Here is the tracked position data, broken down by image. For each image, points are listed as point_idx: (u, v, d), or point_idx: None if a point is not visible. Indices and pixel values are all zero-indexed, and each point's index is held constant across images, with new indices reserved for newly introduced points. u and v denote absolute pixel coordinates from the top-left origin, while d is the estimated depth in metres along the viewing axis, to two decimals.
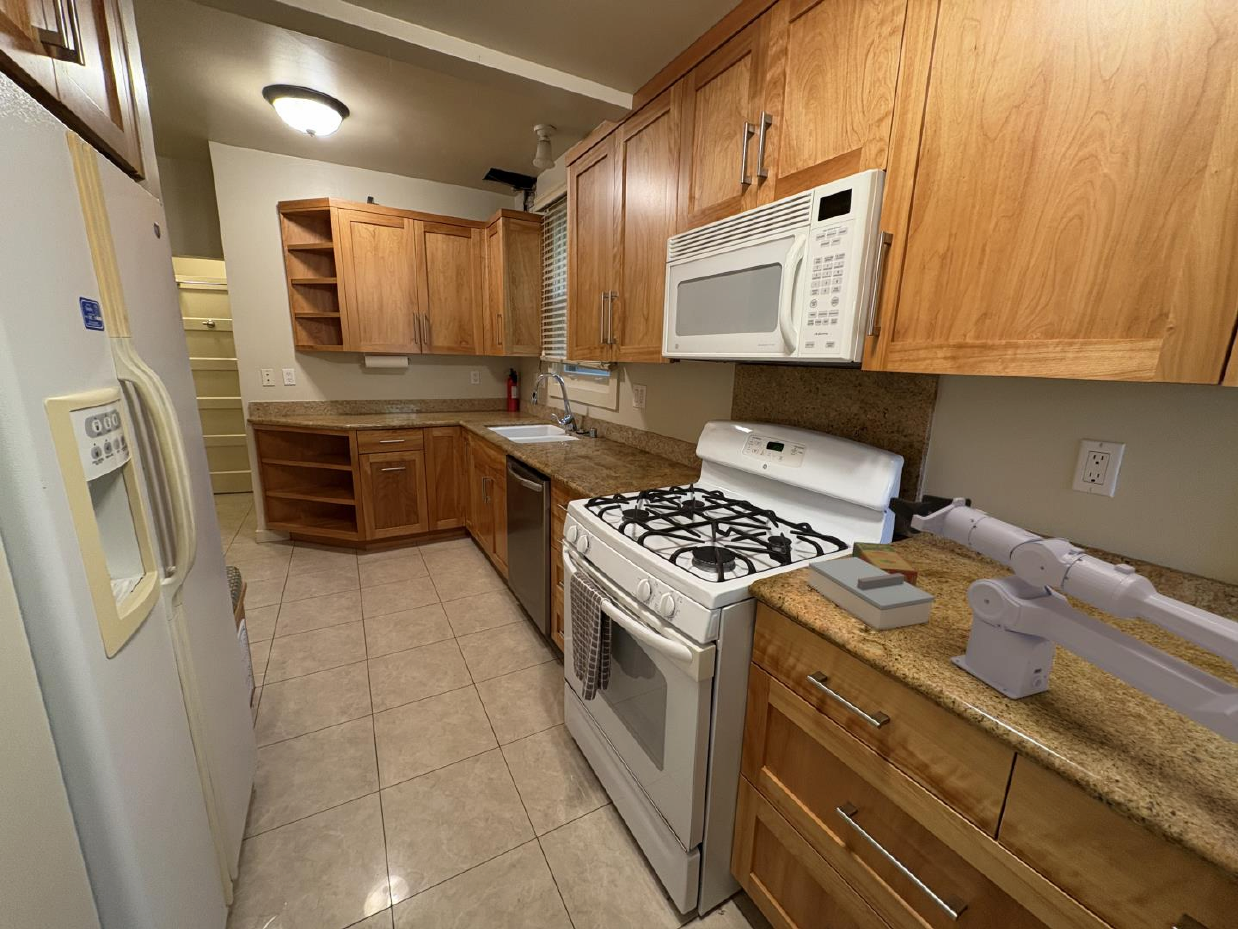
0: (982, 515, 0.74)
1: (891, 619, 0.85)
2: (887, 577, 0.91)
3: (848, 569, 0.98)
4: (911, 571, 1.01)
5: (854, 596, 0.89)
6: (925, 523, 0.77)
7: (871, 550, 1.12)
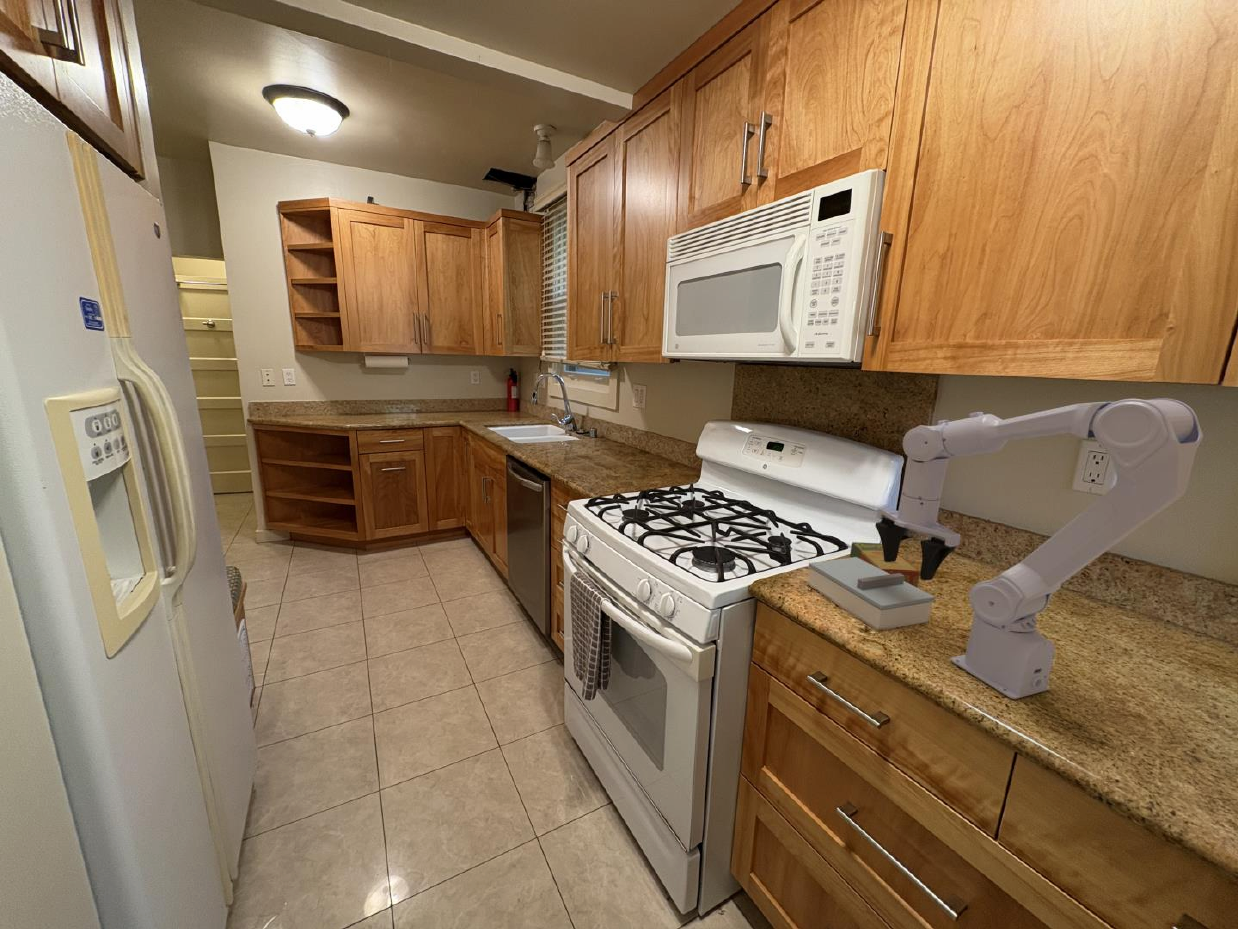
0: (909, 500, 0.81)
1: (891, 619, 0.85)
2: (887, 577, 0.91)
3: (848, 569, 0.98)
4: (913, 571, 1.01)
5: (854, 596, 0.89)
6: (950, 534, 0.77)
7: (871, 550, 1.11)
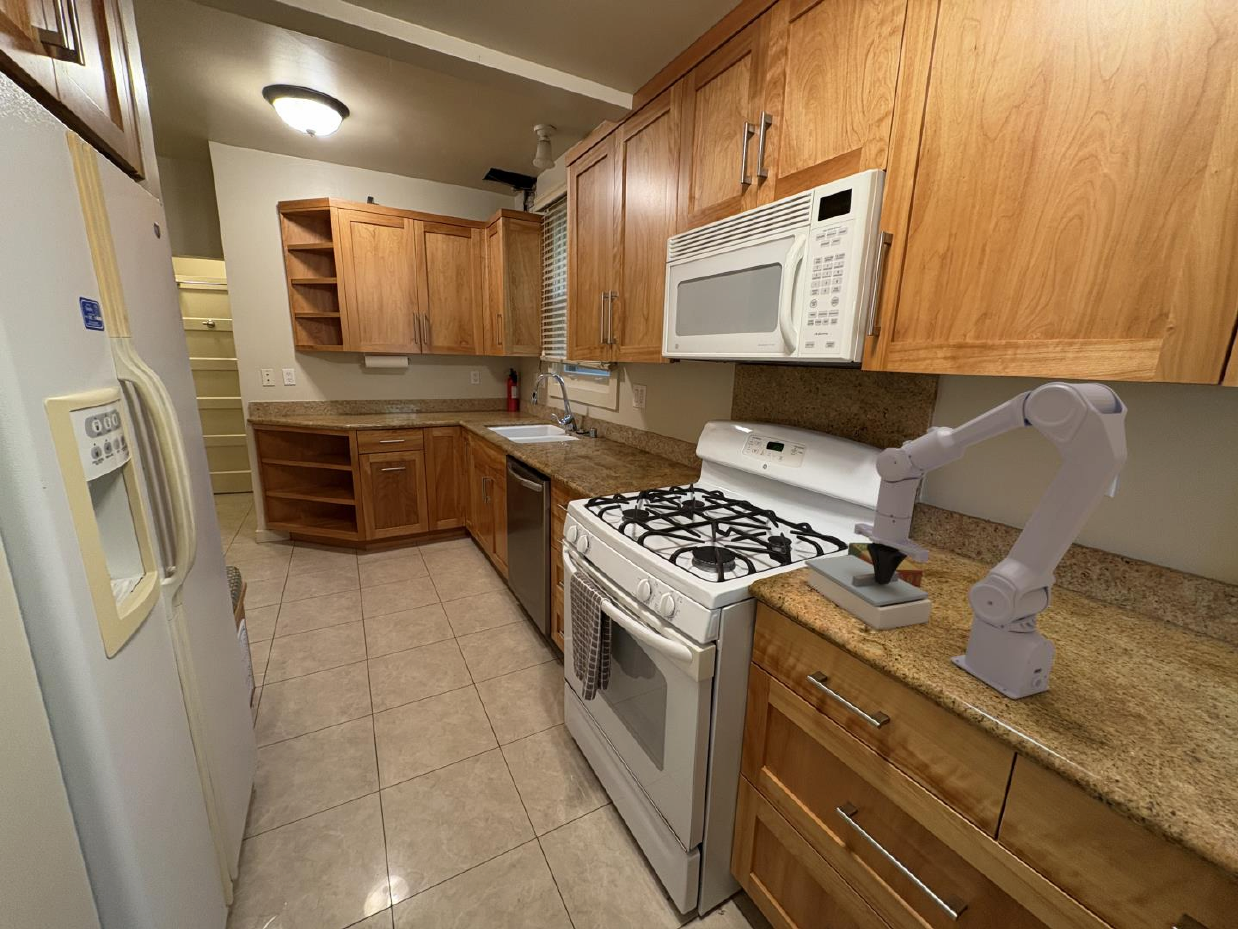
0: (882, 518, 0.86)
1: (891, 619, 0.85)
2: None
3: (843, 566, 0.99)
4: (916, 570, 1.02)
5: (854, 596, 0.89)
6: (919, 550, 0.83)
7: None
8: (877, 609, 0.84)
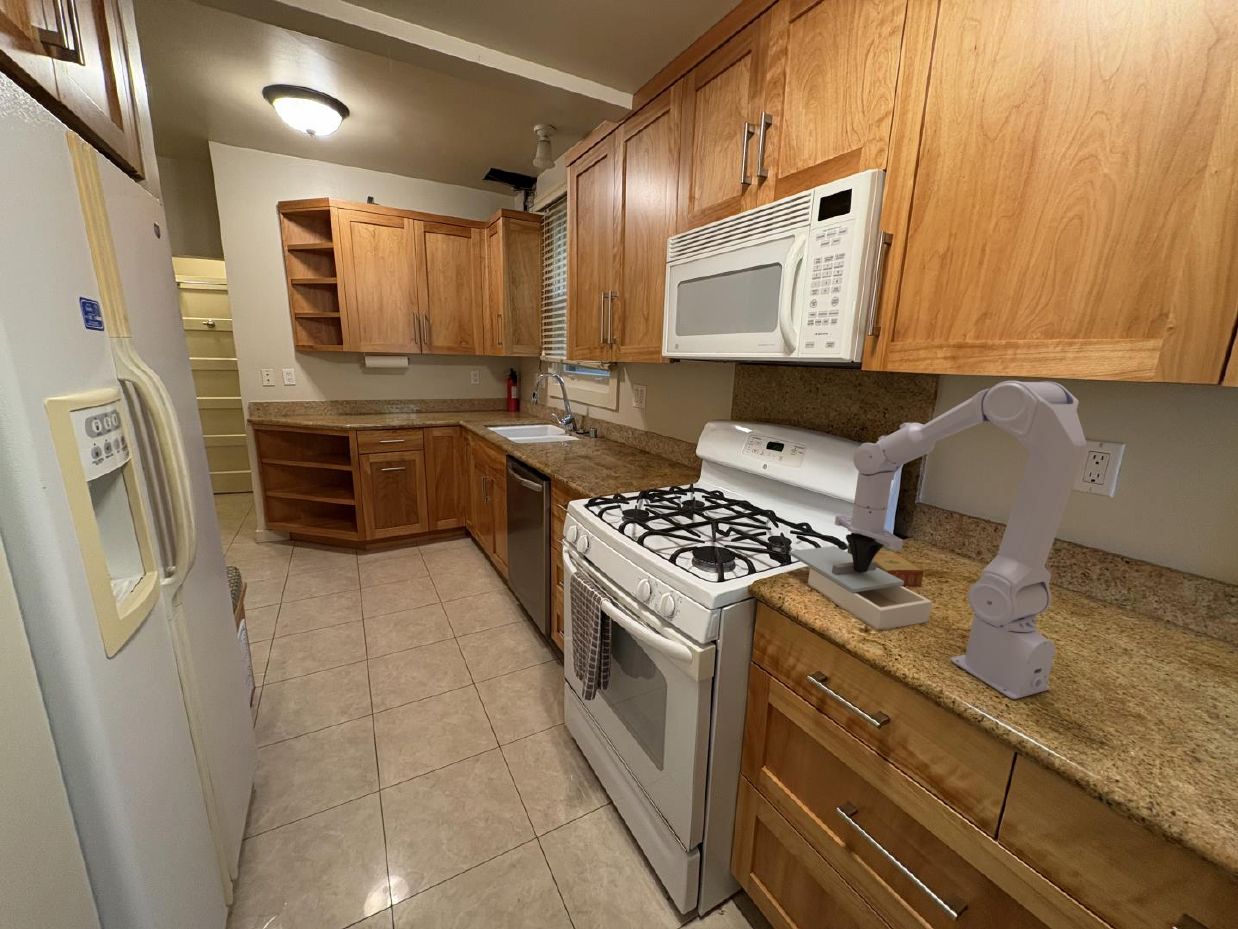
0: (859, 509, 0.91)
1: (891, 619, 0.85)
2: None
3: (825, 557, 1.04)
4: (917, 570, 1.02)
5: (854, 596, 0.89)
6: (894, 539, 0.87)
7: None
8: (877, 609, 0.84)
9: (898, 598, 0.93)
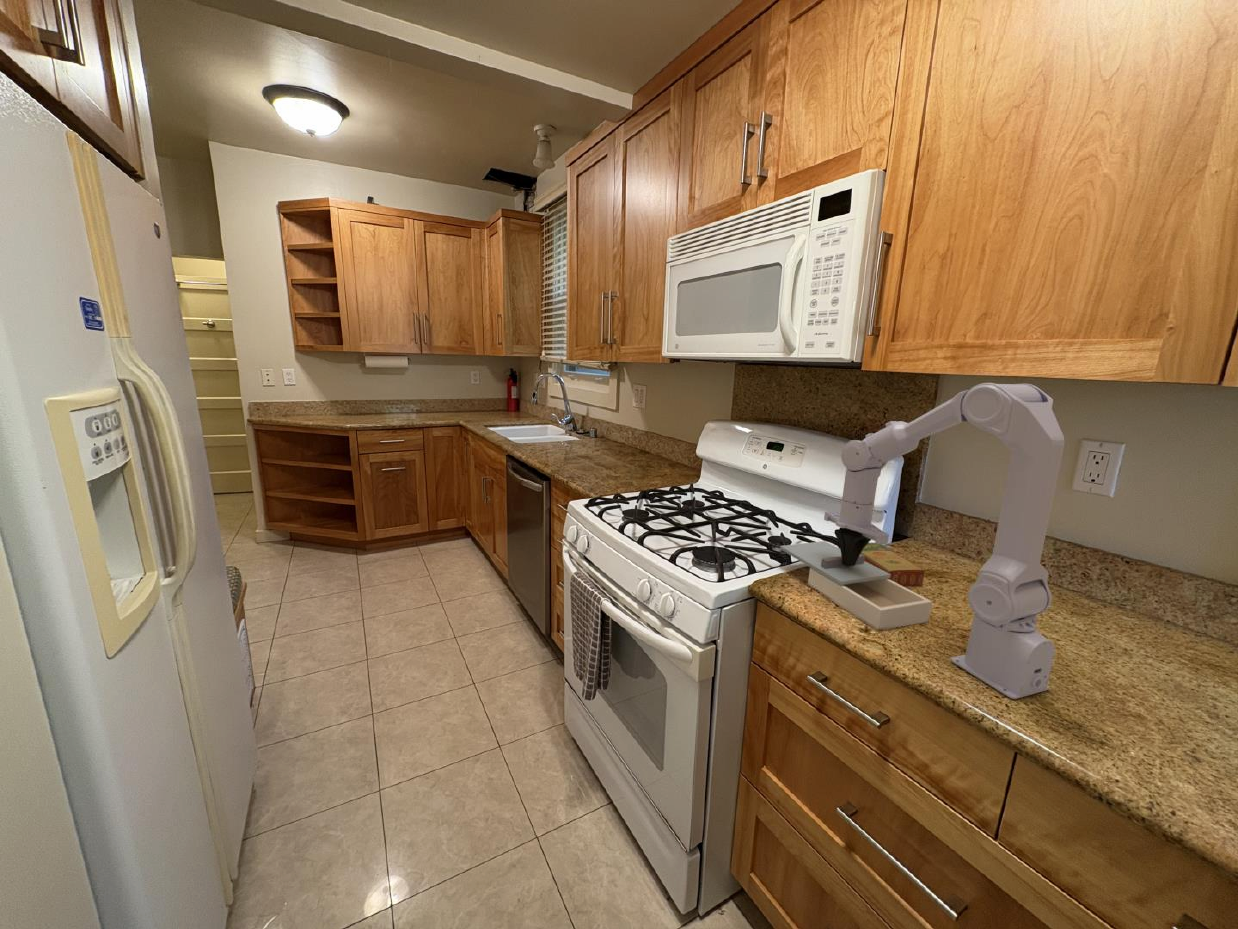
0: (847, 504, 0.94)
1: (891, 619, 0.85)
2: None
3: (815, 551, 1.06)
4: (918, 570, 1.02)
5: (854, 596, 0.89)
6: (880, 534, 0.90)
7: (870, 551, 1.11)
8: (877, 609, 0.84)
9: (898, 598, 0.93)
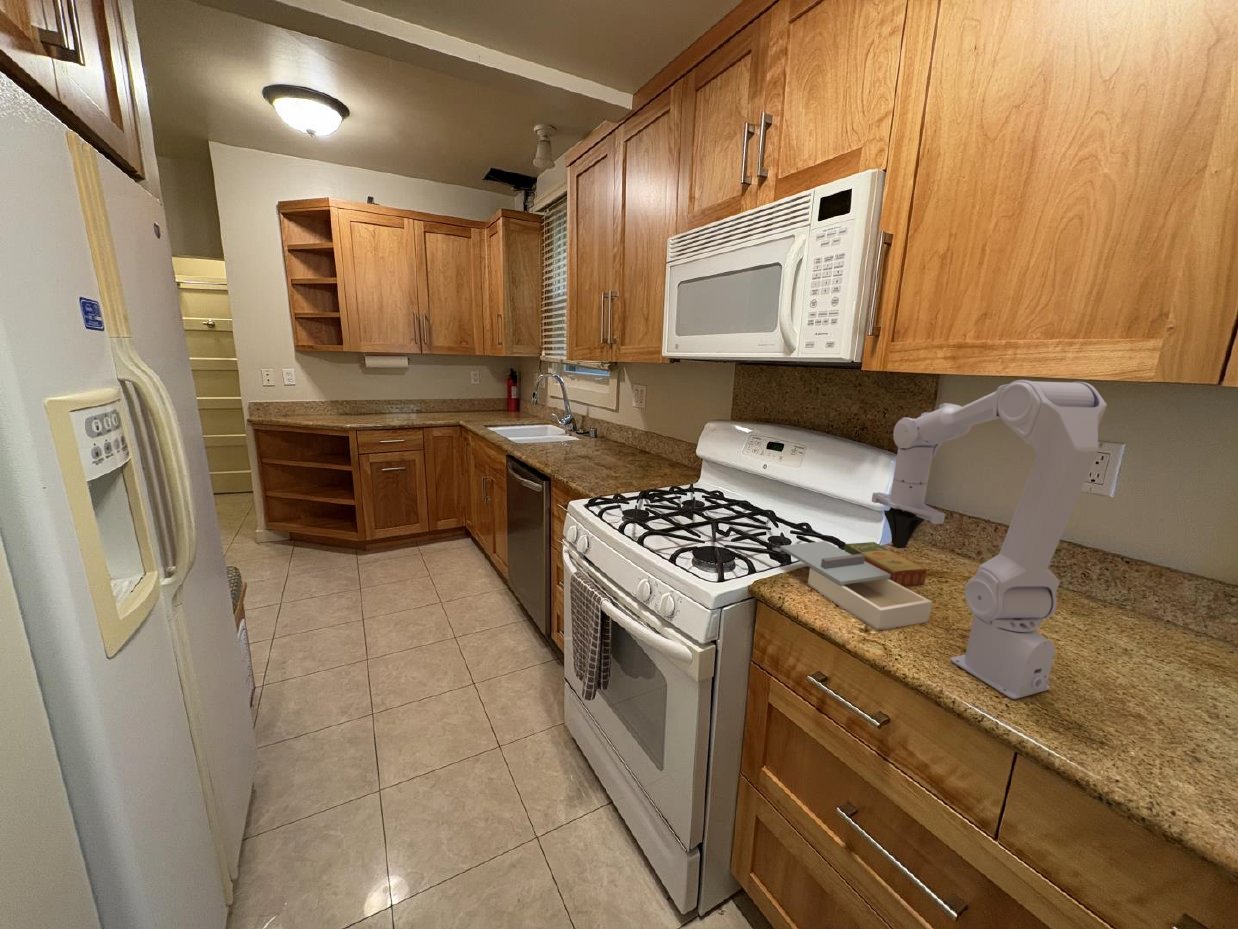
0: (899, 484, 0.92)
1: (891, 619, 0.85)
2: (848, 557, 0.99)
3: (815, 551, 1.06)
4: (921, 569, 1.02)
5: (854, 596, 0.89)
6: (935, 513, 0.88)
7: (869, 551, 1.11)
8: (877, 609, 0.84)
9: (898, 598, 0.93)
